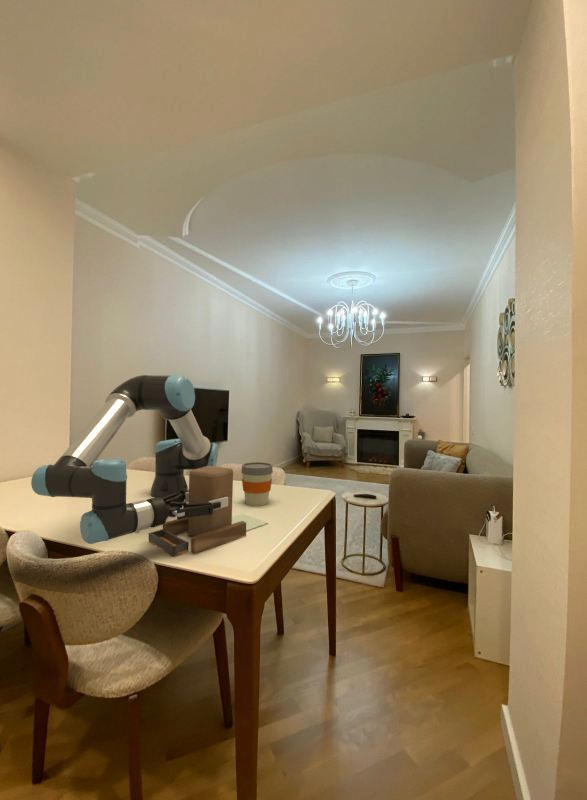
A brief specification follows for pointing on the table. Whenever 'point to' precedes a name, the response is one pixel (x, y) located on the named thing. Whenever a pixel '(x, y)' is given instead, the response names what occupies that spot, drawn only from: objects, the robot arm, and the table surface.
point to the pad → (248, 521)
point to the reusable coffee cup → (256, 482)
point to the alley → (207, 534)
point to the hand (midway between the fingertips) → (215, 497)
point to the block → (210, 497)
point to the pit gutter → (168, 542)
